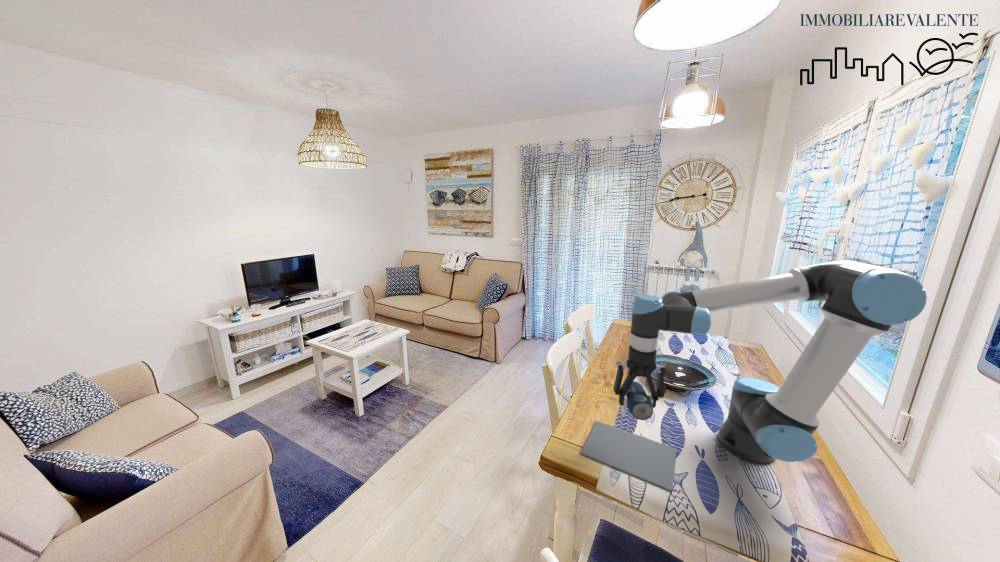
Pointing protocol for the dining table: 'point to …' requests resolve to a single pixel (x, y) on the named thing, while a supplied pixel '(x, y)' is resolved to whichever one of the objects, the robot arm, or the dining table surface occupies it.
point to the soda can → (639, 402)
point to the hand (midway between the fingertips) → (635, 414)
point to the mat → (632, 454)
